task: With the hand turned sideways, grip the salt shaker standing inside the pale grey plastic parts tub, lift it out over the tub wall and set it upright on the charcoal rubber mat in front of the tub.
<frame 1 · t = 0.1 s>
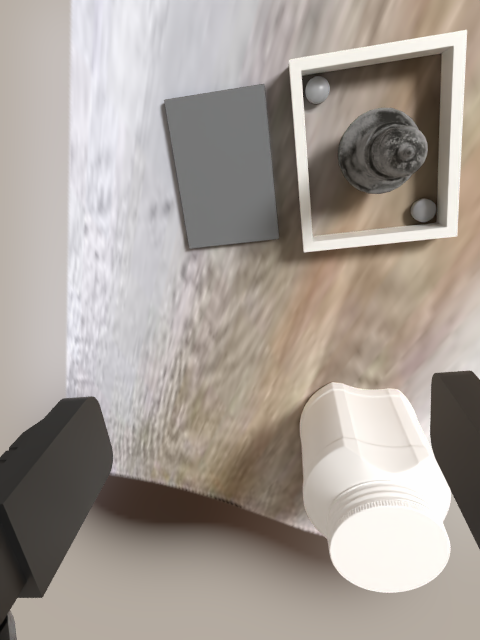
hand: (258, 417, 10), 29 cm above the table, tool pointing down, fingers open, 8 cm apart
rubber mat: (224, 171, 36), on the table
jar: (356, 424, 44), on the table
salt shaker: (370, 152, 35), resting in parts tub
parts tub: (371, 152, 35), on the table
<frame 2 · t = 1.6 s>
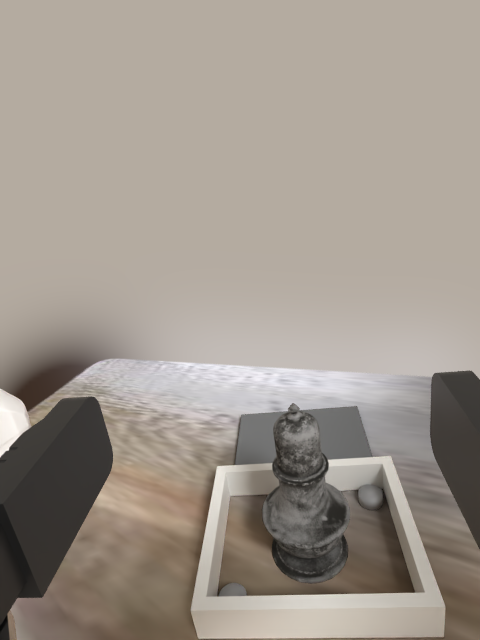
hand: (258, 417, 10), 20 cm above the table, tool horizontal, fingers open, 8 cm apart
rubber mat: (300, 439, 41), on the table
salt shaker: (309, 550, 30), resting in parts tub
parts tub: (309, 547, 30), on the table
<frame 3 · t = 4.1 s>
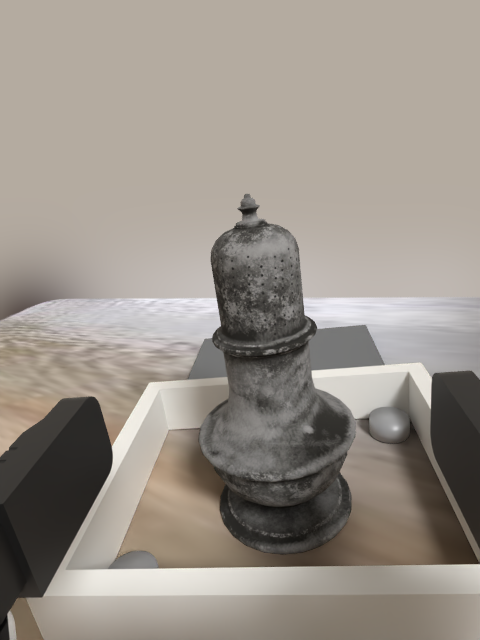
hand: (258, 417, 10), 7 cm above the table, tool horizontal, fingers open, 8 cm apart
rubber mat: (284, 363, 29), on the table
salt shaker: (285, 501, 18), resting in parts tub
parts tub: (284, 497, 17), on the table
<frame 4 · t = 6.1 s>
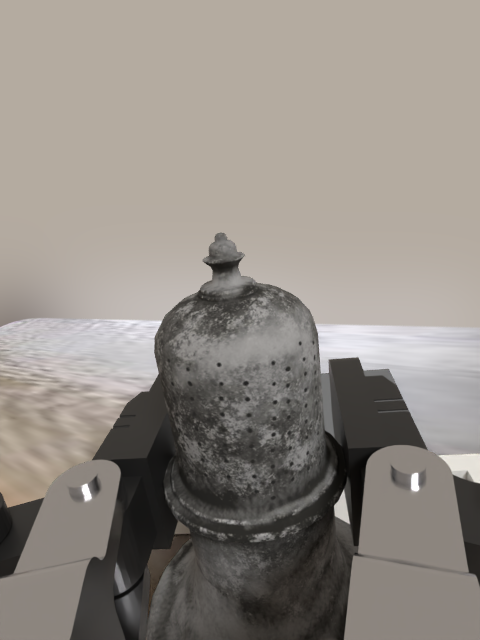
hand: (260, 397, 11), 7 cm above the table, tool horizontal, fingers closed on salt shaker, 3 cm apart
rubber mat: (286, 423, 22), on the table
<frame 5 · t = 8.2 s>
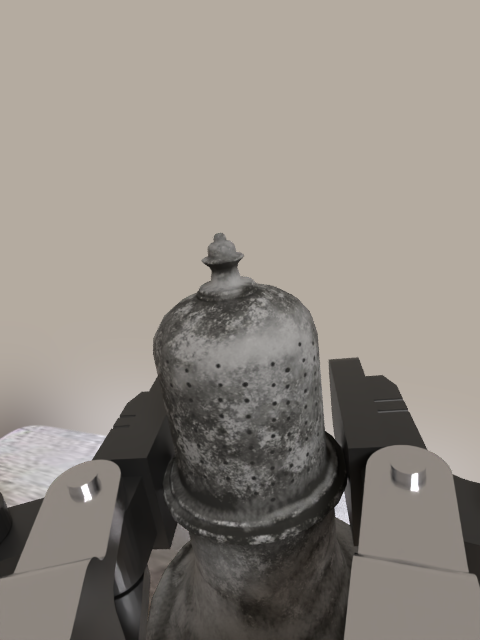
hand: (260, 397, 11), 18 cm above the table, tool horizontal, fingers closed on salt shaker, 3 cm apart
when the fingers open (9 cm above the table, at t = 10.6 s): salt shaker drops 1 cm, resting on rubber mat.
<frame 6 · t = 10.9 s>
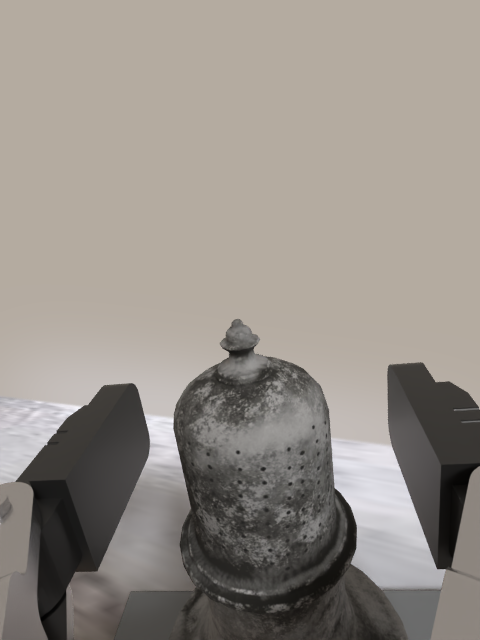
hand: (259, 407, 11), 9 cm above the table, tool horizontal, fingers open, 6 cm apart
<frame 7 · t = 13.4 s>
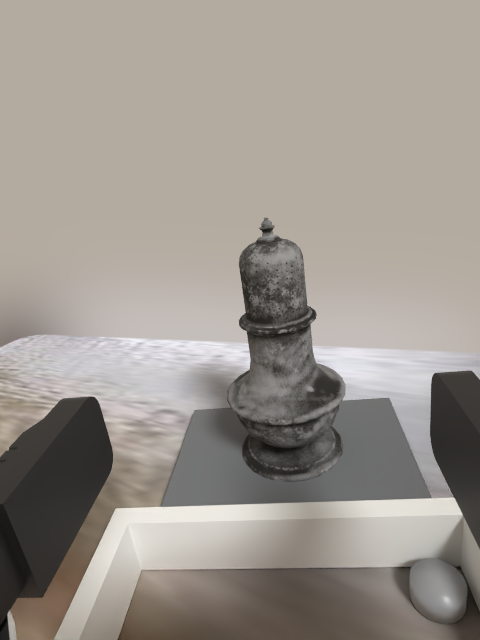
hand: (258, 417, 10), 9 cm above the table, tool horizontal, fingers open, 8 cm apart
rubber mat: (290, 454, 23), on the table
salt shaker: (292, 449, 23), resting on rubber mat
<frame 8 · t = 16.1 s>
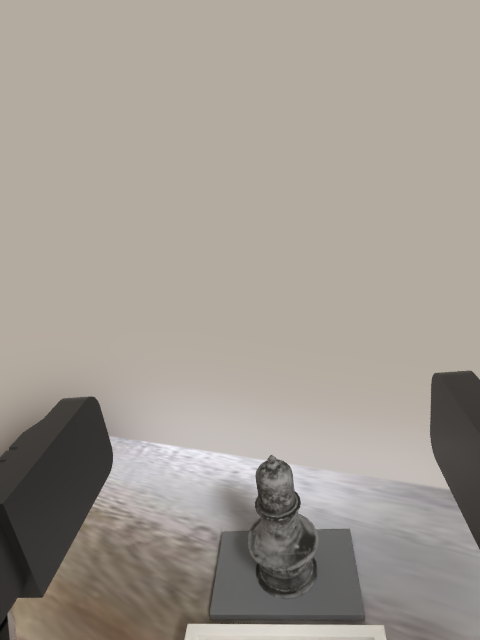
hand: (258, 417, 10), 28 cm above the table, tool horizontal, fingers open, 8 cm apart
rubber mat: (285, 573, 37), on the table
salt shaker: (286, 571, 37), resting on rubber mat
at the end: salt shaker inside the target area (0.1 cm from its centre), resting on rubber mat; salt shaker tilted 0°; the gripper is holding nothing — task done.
